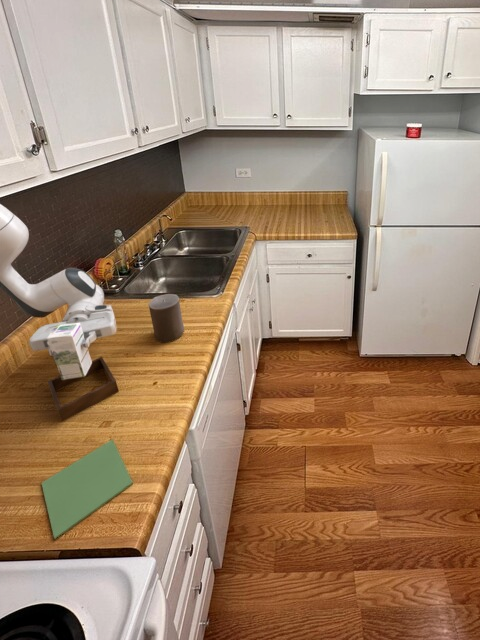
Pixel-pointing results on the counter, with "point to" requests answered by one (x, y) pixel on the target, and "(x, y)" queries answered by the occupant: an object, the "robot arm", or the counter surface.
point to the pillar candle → (166, 317)
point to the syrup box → (69, 351)
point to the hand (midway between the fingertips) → (69, 349)
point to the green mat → (84, 487)
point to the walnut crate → (88, 398)
